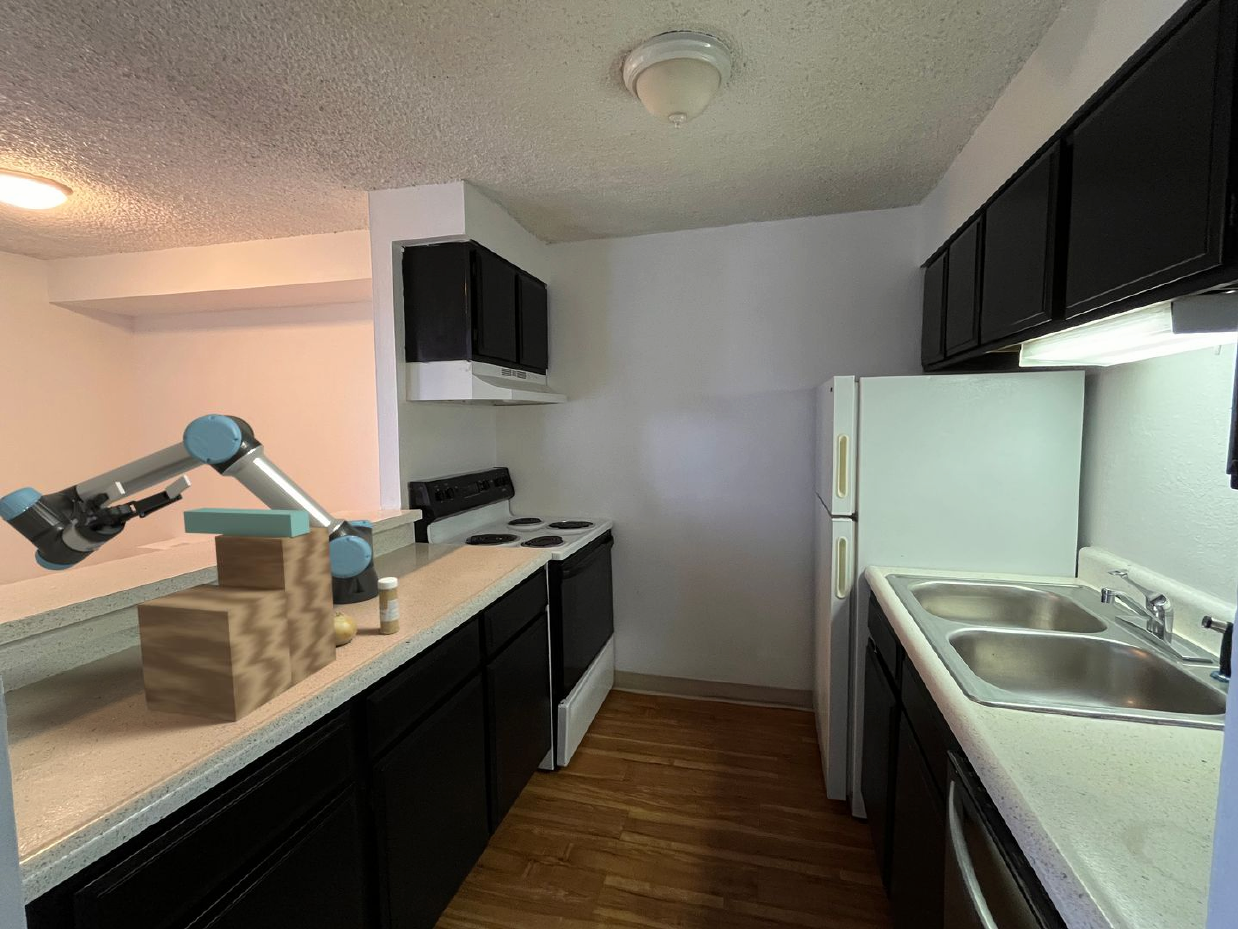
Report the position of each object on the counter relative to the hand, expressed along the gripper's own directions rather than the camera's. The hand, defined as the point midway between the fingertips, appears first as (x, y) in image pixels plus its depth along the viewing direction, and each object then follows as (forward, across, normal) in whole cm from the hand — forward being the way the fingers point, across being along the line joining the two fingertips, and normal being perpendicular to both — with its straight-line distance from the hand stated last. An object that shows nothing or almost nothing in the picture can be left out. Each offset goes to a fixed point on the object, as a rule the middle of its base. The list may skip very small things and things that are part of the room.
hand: (155, 483), depth 113 cm
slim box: (+17, +2, -21) cm, 27 cm away
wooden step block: (+5, +6, -48) cm, 49 cm away
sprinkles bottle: (+15, -22, -54) cm, 60 cm away
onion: (+8, -14, -50) cm, 53 cm away
